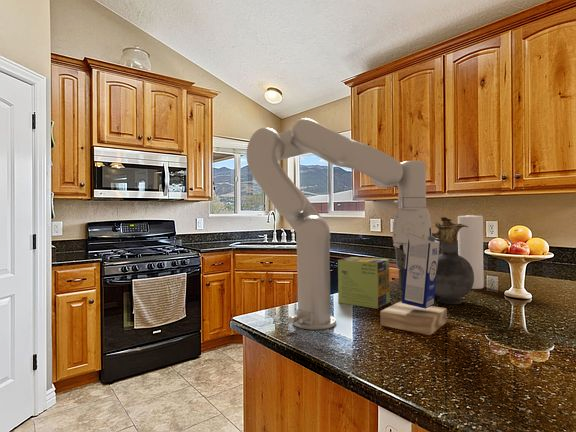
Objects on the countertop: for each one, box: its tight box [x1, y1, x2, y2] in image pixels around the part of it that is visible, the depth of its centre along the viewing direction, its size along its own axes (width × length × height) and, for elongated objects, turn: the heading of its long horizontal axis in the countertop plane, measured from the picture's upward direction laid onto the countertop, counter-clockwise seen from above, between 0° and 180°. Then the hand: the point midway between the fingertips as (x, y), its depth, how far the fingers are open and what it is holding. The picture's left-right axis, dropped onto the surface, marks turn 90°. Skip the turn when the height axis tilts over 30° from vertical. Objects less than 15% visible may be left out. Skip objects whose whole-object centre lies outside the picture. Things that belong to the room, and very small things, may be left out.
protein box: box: [337, 256, 391, 310], centre depth 130 cm, size 10×15×16 cm
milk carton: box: [401, 233, 440, 309], centre depth 103 cm, size 7×7×20 cm
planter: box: [394, 246, 406, 290], centre depth 153 cm, size 13×13×18 cm
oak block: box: [379, 300, 448, 336], centre depth 105 cm, size 14×14×4 cm
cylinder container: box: [457, 214, 485, 290], centre depth 153 cm, size 9×9×30 cm
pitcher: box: [432, 216, 474, 305], centre depth 129 cm, size 11×19×30 cm, turn 60°
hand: (412, 268), depth 105 cm, fingers closed on milk carton, 1 cm apart
